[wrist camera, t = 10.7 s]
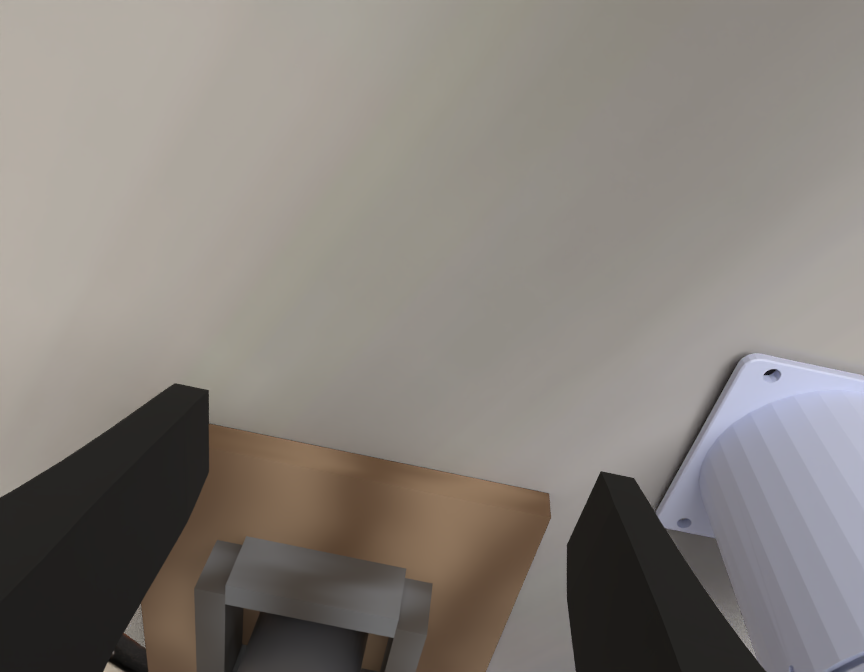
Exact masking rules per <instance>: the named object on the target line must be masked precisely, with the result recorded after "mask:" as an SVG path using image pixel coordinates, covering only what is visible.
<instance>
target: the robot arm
mask: <svg viewBox="0 0 864 672" xmlns="http://www.w3.org/2000/svg"><path fill="white" fill-rule="evenodd" d="M771 369H776V371H775V372H774V373H773V374H770V375H764V373H765V372H766V371H768V370H771ZM208 473H209V390H205V389H200V388H195V387H190V386H185V385H181V384H176V383H175V384H173V385H172V386H170V387H169V388H167V389H166V390H164V391H163V392H161V393H160V394H158V395H157V396H156V397H154V398H153V399H151V400H150V401H149V402H147V403H146V404H144V405H143V406H142V407H140V408H139V409H137V410H136V411H135V412H133V413H132V414H130V415H129V416H127V417H126V418H125V419H123V420H122V421H120V422H119V423H117V424H116V425H115V426H113V427H112V428H110V429H109V430H107V431H106V432H104V433H103V434H101V435H100V436H98V437H97V438H95V439H94V440H92V441H91V442H89V443H88V444H87V445H85V446H84V447H82V448H81V449H79V450H78V451H76V452H75V453H73V454H72V455H70V456H68V457H67V458H65V459H64V460H62V461H61V462H59V463H57V464H56V465H54V466H52V467H51V468H49V469H48V470H46V471H44V472H43V473H41V474H39V475H38V476H36V477H34V478H33V479H31V480H30V481H28V482H26V483H25V484H23V485H21V486H20V487H18V488H16V489H15V490H13V491H11V492H10V493H8V494H6V495H4V496H2V497H1V498H0V672H103V671H104V669H105V667H106V665H107V663H108V661H109V659H110V657H111V655H112V653H113V651H114V649H115V647H116V645H117V644H118V642H119V640H120V638H121V636H122V634H123V633H124V631H125V629H126V627H127V626H128V624H129V622H130V621H131V619H132V617H133V615H134V614H135V612H136V610H137V609H138V607H139V605H140V603H141V602H142V600H143V598H144V597H145V595H146V593H147V591H148V590H149V588H150V586H151V585H152V583H153V581H154V580H155V578H156V576H157V574H158V573H159V571H160V569H161V568H162V566H163V564H164V562H165V561H166V559H167V557H168V555H169V554H170V552H171V550H172V549H173V547H174V545H175V543H176V542H177V540H178V538H179V536H180V535H181V533H182V531H183V529H184V528H185V526H186V524H187V522H188V520H189V518H190V516H191V513H192V511H193V509H194V507H195V504H196V502H197V500H198V497H199V495H200V493H201V490H202V488H203V485H204V483H205V481H206V478H207V476H208ZM682 518H686V519H683V520H680V519H682ZM665 528H667V529H672V530H677V531H682V532H686V533H691V534H696V535H701V536H706V537H711V538H716V541H717V544H718V547H719V550H720V553H721V556H722V559H723V562H724V564H725V567H726V570H727V573H728V576H729V579H730V582H731V585H732V588H733V591H734V593H735V596H736V599H737V602H738V605H739V608H740V611H741V614H742V617H743V620H744V622H745V625H746V628H747V631H748V634H749V637H750V640H751V643H752V646H753V649H754V651H755V654H756V657H757V660H758V661H757V660H756V659H755V657H754V656H753V655H752V653H751V652H750V651H749V650H748V648H747V647H746V646H745V644H744V643H743V642H742V641H741V639H740V638H739V637H738V635H737V634H736V632H735V631H734V630H733V628H732V627H731V626H730V624H729V623H728V622H727V620H726V619H725V618H724V616H723V615H722V613H721V612H720V611H719V609H718V608H717V607H716V605H715V604H714V602H713V601H712V599H711V598H710V597H709V595H708V594H707V592H706V591H705V589H704V588H703V587H702V585H701V584H700V582H699V581H698V579H697V578H696V576H695V575H694V573H693V572H692V570H691V569H690V567H689V566H688V564H687V562H686V561H685V559H684V558H683V556H682V555H681V553H680V552H679V550H678V549H677V547H676V545H675V544H674V542H673V541H672V539H671V537H670V536H669V534H668V533H667V531H666V529H665ZM567 602H568V611H569V619H570V628H571V636H572V644H573V652H574V660H575V668H576V672H864V375H859V374H854V373H850V372H845V371H840V370H836V369H831V368H826V367H821V366H817V365H812V364H807V363H802V362H798V361H793V360H788V359H783V358H779V357H774V356H769V355H764V354H757V353H753V354H750V355H747V356H745V357H743V358H742V359H741V360H740V361H739V362H738V364H737V366H736V367H735V369H734V371H733V373H732V375H731V376H730V378H729V380H728V382H727V384H726V386H725V387H724V389H723V391H722V393H721V395H720V396H719V398H718V400H717V402H716V404H715V405H714V407H713V409H712V411H711V413H710V414H709V416H708V418H707V420H706V422H705V424H704V425H703V427H702V429H701V431H700V433H699V434H698V436H697V438H696V440H695V442H694V443H693V445H692V447H691V449H690V451H689V452H688V454H687V456H686V458H685V460H684V461H683V463H682V465H681V467H680V469H679V471H678V472H677V474H676V476H675V478H674V480H673V481H672V483H671V485H670V487H669V489H668V490H667V492H666V494H665V496H664V498H663V499H662V501H661V503H660V505H659V507H658V509H657V510H656V513H655V512H654V510H653V508H652V507H651V505H650V503H649V502H648V500H647V499H646V497H645V495H644V494H643V492H642V490H641V489H640V487H639V486H638V484H637V482H636V481H635V479H634V478H631V477H626V476H621V475H616V474H611V473H606V472H602V471H601V472H600V474H599V476H598V479H597V481H596V483H595V485H594V487H593V489H592V492H591V494H590V496H589V498H588V500H587V503H586V505H585V507H584V509H583V511H582V513H581V516H580V518H579V520H578V522H577V524H576V526H575V529H574V531H573V533H572V535H571V537H570V539H569V542H568V544H567Z"/></svg>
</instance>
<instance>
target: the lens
mask: <svg viewBox="0 0 864 672" xmlns="http://www.w3.org/2000/svg"><path fill="white" fill-rule="evenodd" d="M368 635H369V633H366V632H361V631H356V630H351V629H346V628H341V627H336V626H331V625H326V624H321V623H316V622H311V621H306V620H301V619H296V618H291V617H286V616H281V615H276V614H271V613H266V612H261V611H260V614H259V616H258V619H257V621H256V624H255V627H254V629H253V632H252V634H251V637H250V640H249V642H248V645H247V647H246V650H245V653H244V655H243V658H242V660H241V663H240V666H239V668H238V671H237V672H361V667H362V662H363V658H364V653H365V648H366V644H367V639H368Z"/></svg>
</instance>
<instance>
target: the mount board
mask: <svg viewBox="0 0 864 672" xmlns="http://www.w3.org/2000/svg"><path fill="white" fill-rule="evenodd" d="M550 519H551V512H550V500H549V494H548V493H543V492H539V491H534V490H529V489H524V488H519V487H514V486H509V485H505V484H500V483H495V482H490V481H485V480H480V479H475V478H471V477H466V476H461V475H456V474H451V473H446V472H441V471H436V470H432V469H427V468H422V467H417V466H412V465H407V464H402V463H398V462H393V461H388V460H383V459H378V458H373V457H368V456H364V455H359V454H354V453H349V452H344V451H339V450H334V449H330V448H325V447H320V446H315V445H310V444H305V443H300V442H295V441H291V440H286V439H281V438H276V437H271V436H266V435H261V434H257V433H252V432H247V431H242V430H237V429H232V428H227V427H223V426H218V425H213V424H209V473H208V476H207V478H206V481H205V483H204V485H203V488H202V490H201V493H200V495H199V497H198V500H197V502H196V504H195V507H194V509H193V511H192V513H191V516H190V518H189V520H188V522H187V524H186V526H185V528H184V529H183V531H182V533H181V535H180V536H179V538H178V540H177V542H176V543H175V545H174V547H173V549H172V550H171V552H170V554H169V555H168V557H167V559H166V561H165V562H164V564H163V566H162V568H161V569H160V571H159V573H158V574H157V576H156V578H155V580H154V581H153V583H152V585H151V586H150V588H149V590H148V591H147V593H146V595H145V597H144V598H143V600H142V602H141V607H142V617H143V626H144V635H145V644H146V654H147V663H148V672H237V671H238V668H239V666H240V663H241V660H242V658H243V655H244V653H245V650H246V647H247V645H248V642H249V640H250V637H251V634H252V632H253V629H254V627H255V624H256V621H257V619H258V616H259V614H260V611H261V612H266V613H271V614H276V615H281V616H286V617H291V618H296V619H301V620H306V621H311V622H316V623H321V624H326V625H331V626H336V627H341V628H346V629H351V630H356V631H361V632H366V633H369V635H368V639H367V644H366V648H365V653H364V658H363V662H362V667H361V672H486V670H487V667H488V665H489V663H490V660H491V658H492V655H493V653H494V651H495V648H496V646H497V644H498V641H499V639H500V637H501V634H502V632H503V630H504V627H505V625H506V622H507V620H508V618H509V615H510V613H511V611H512V608H513V606H514V604H515V601H516V599H517V597H518V594H519V592H520V589H521V587H522V585H523V582H524V580H525V578H526V575H527V573H528V571H529V568H530V566H531V564H532V561H533V559H534V556H535V554H536V552H537V549H538V547H539V545H540V542H541V540H542V538H543V535H544V533H545V531H546V528H547V526H548V523H549V521H550Z"/></svg>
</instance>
